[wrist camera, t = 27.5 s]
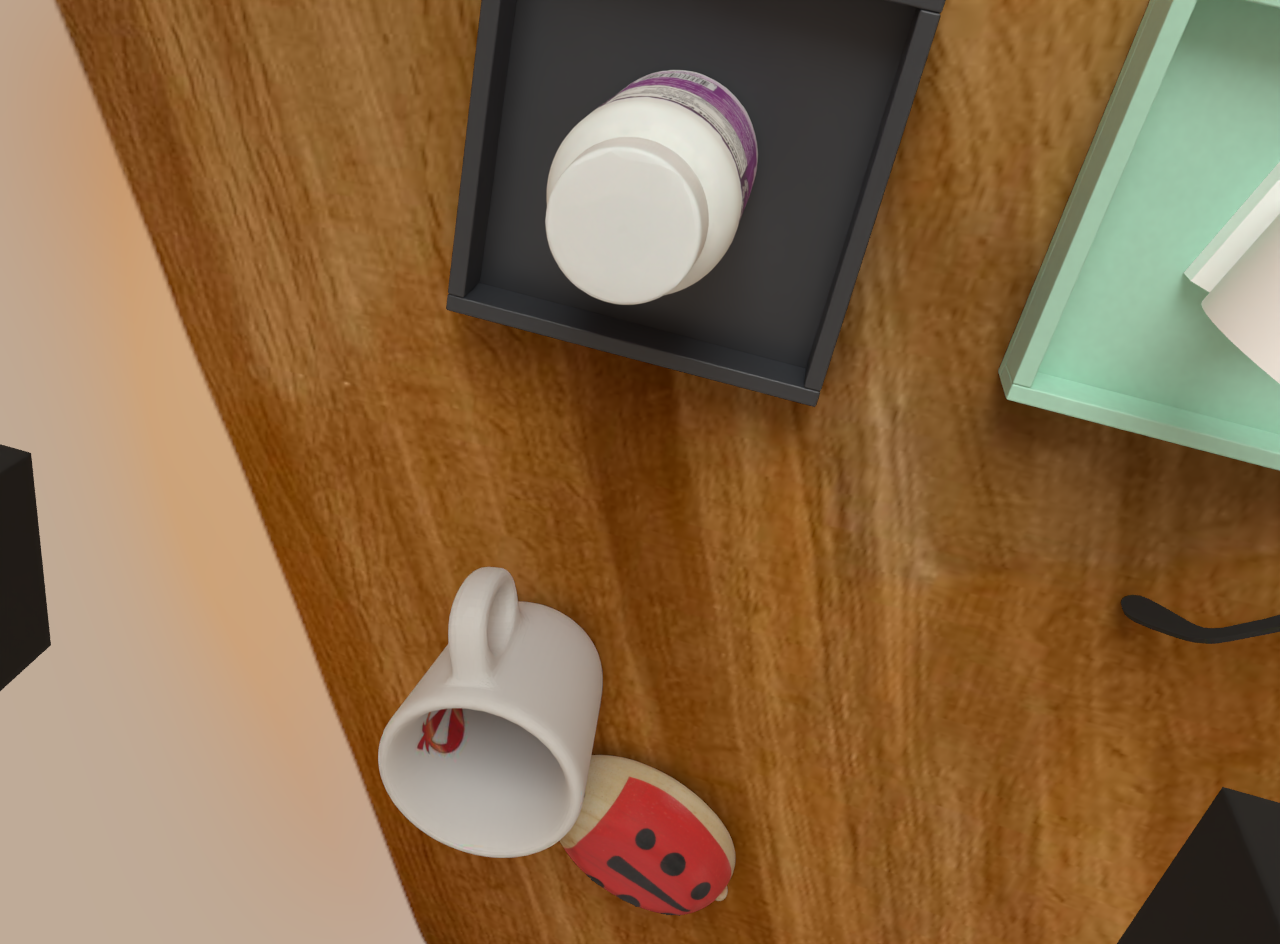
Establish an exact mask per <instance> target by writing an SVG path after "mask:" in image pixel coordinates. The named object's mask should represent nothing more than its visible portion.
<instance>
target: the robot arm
mask: <svg viewBox="0 0 1280 944" xmlns="http://www.w3.org/2000/svg"><path fill="white" fill-rule="evenodd" d="M50 645H51V642H50V632H49V623H48V613H47V603H46V594H45V584H44V574H43V565H42V556H41V546H40V536H39V526H38V516H37V508H36V498H35V488H34V478H33V468H32V459H31V453H29V452H25V451H22V450H18V449H15V448H11V447H8V446H4V445H0V691H1V690H2V689H3V688H4V687H5V686H6V685H7V684H9V683H10V682H11V681H12V680H13V679H14V678H15V677H16V676H17V675H18V674H20V672H22V670H24V669H25V668H26V667H27V666H28V665H29V664H30V663H32V662H33V661H34V660H35V659H36V658H37V657H38V656H39V655H40V654H42V652H44V651H45V650H46V649H47V648H48V647H49V646H50ZM1117 944H1280V803H1278V802H1274V801H1271V800H1267V799H1264V798H1260V797H1256V796H1253V795H1249V794H1246V793H1242V792H1239V791H1235V790H1231V789H1228V788H1224V787H1222V789H1221V790H1220V792H1219V793H1218V795H1217V796H1216V798H1215V799H1214V801H1213V802H1212V804H1211V805H1210V807H1209V808H1208V810H1207V811H1206V813H1205V814H1204V816H1203V817H1202V819H1201V820H1200V821H1199V823H1198V824H1197V826H1196V827H1195V829H1194V830H1193V832H1192V833H1191V835H1190V836H1189V838H1188V839H1187V841H1186V842H1185V844H1184V845H1183V847H1182V848H1181V850H1180V851H1179V853H1178V854H1177V856H1176V857H1175V858H1174V860H1173V861H1172V863H1171V864H1170V866H1169V867H1168V869H1167V870H1166V872H1165V873H1164V875H1163V876H1162V878H1161V879H1160V881H1159V882H1158V884H1157V885H1156V887H1155V888H1154V890H1153V891H1152V893H1151V894H1150V896H1149V897H1148V898H1147V900H1146V901H1145V903H1144V904H1143V906H1142V907H1141V909H1140V910H1139V912H1138V913H1137V915H1136V916H1135V918H1134V919H1133V921H1132V922H1131V924H1130V925H1129V927H1128V928H1127V930H1126V931H1125V933H1124V934H1123V936H1122V937H1121V938H1120V940H1119V941H1118V943H1117Z"/></svg>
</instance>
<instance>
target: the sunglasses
mask: <svg viewBox="0 0 1280 944" xmlns="http://www.w3.org/2000/svg"><path fill="white" fill-rule="evenodd" d="M1121 605H1122V609H1123V612H1124V614H1125V615H1126V616H1127V617H1128V618H1129V619H1131V620H1133V621H1134V622H1136V623H1138V624H1141V625H1143V626H1145V627H1148V628H1150V629H1153V630H1156V631H1158V632H1161V633H1164V634H1167V635H1170V636H1173V637H1176V638H1179V639H1182V640H1186V641H1190V642H1195V643H1206V644H1213V643H1222V642H1229V641H1234V640H1239V639H1244V638H1250V637H1255V636H1260V635H1265V634H1270V633H1275V632H1280V615H1277V616H1273V617H1270V618H1266V619H1262V620H1257V621H1253V622H1248V623H1243V624H1238V625H1233V626H1229V627H1224V628H1203V627H1200V626H1197V625H1195V624H1193V623H1191V622H1189V621H1187V620H1185V619H1184V618H1182V617H1180V616H1178V615H1177V614H1175V613H1173V612H1172V611H1170V610H1168V609H1166V608H1165V607H1163V606H1161V605H1159V604H1157V603H1155V602H1153V601H1152V600H1150V599H1147V598H1145V597H1142V596H1139V595H1129V596H1126V597H1124V598H1123V599H1122V600H1121Z"/></svg>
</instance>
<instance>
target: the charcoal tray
mask: <svg viewBox="0 0 1280 944" xmlns="http://www.w3.org/2000/svg"><path fill="white" fill-rule="evenodd" d="M945 1H946V0H482V2H481V11H480V19H479V28H478V37H477V45H476V54H475V63H474V71H473V80H472V89H471V97H470V106H469V115H468V123H467V132H466V141H465V149H464V158H463V167H462V175H461V184H460V193H459V201H458V210H457V219H456V227H455V236H454V245H453V253H452V262H451V271H450V279H449V288H448V293H449V294H448V297H447V306H446V309H447V310H450V311H453V312H457V313H461V314H465V315H469V316H472V317H476V318H480V319H484V320H488V321H491V322H495V323H499V324H503V325H506V326H510V327H514V328H518V329H522V330H525V331H529V332H533V333H537V334H540V335H544V336H548V337H552V338H556V339H559V340H563V341H567V342H571V343H575V344H578V345H582V346H586V347H590V348H593V349H597V350H601V351H605V352H609V353H612V354H616V355H620V356H624V357H628V358H631V359H635V360H639V361H643V362H646V363H650V364H654V365H658V366H662V367H665V368H669V369H673V370H677V371H681V372H684V373H688V374H692V375H696V376H699V377H703V378H707V379H711V380H715V381H718V382H722V383H726V384H730V385H734V386H737V387H741V388H745V389H749V390H752V391H756V392H760V393H764V394H768V395H771V396H775V397H779V398H783V399H787V400H790V401H794V402H798V403H802V404H805V405H809V406H813V407H815V406H816V404H817V401H818V398H819V395H820V390H821V389H822V386H823V382H824V379H825V376H826V373H827V370H828V367H829V364H830V361H831V357H832V354H833V351H834V348H835V345H836V342H837V339H838V335H839V332H840V329H841V326H842V323H843V320H844V317H845V314H846V310H847V307H848V304H849V301H850V298H851V295H852V292H853V289H854V285H855V282H856V279H857V276H858V273H859V270H860V267H861V263H862V260H863V257H864V254H865V251H866V248H867V245H868V242H869V238H870V235H871V232H872V229H873V226H874V223H875V220H876V217H877V213H878V210H879V207H880V204H881V201H882V198H883V195H884V191H885V188H886V185H887V182H888V179H889V176H890V173H891V170H892V166H893V163H894V160H895V157H896V154H897V151H898V148H899V145H900V141H901V138H902V135H903V132H904V129H905V126H906V123H907V119H908V116H909V113H910V110H911V107H912V104H913V101H914V98H915V94H916V91H917V88H918V85H919V82H920V79H921V76H922V73H923V69H924V66H925V63H926V60H927V57H928V54H929V51H930V47H931V44H932V41H933V38H934V35H935V32H936V29H937V26H938V22H939V19H940V13H941V12H942V10H943V7H944V4H945ZM668 70H686V71H692V72H696V73H700V74H702V75H705V76H707V77H709V78H711V79H713V80H715V81H717V82H718V83H720V84H721V85H723V86H724V87H726V88H727V89H728V90H729V91H730V92H731V93H732V94H733V95H734V96H735V97H736V98H737V99H738V100H739V102H740V103H741V104H742V106H743V107H744V109H745V110H746V112H747V114H748V116H749V118H750V120H751V122H752V125H753V129H754V132H755V136H756V141H757V148H758V161H757V171H756V176H755V179H754V183H753V186H752V190H751V193H750V196H749V198H748V201H747V204H746V206H745V209H744V212H743V214H742V217H741V219H740V222H739V225H738V228H737V231H736V234H735V237H734V239H733V241H732V243H731V245H730V247H729V249H728V250H727V252H726V253H725V254H724V256H723V257H722V259H721V260H720V261H719V262H718V264H717V265H716V266H715V267H714V268H713V269H712V270H711V271H710V272H709V273H708V274H707V275H705V276H704V277H703V278H702V279H700V280H699V281H697V282H696V283H694V284H693V285H691V286H689V287H687V288H685V289H682V290H680V291H677V292H675V293H672V294H667V295H663V296H662V297H660V298H657V299H655V300H652V301H649V302H646V303H641V304H635V305H620V304H613V303H609V302H605V301H602V300H599V299H597V298H594V297H592V296H590V295H588V294H587V293H585V292H584V291H582V290H581V289H579V288H578V287H576V286H575V285H574V284H573V283H572V282H571V281H570V280H569V279H568V278H567V277H566V276H565V274H564V273H563V272H562V271H561V269H560V268H559V266H558V264H557V263H556V261H555V259H554V257H553V255H552V252H551V250H550V247H549V243H548V240H547V234H546V224H545V219H546V209H547V200H546V199H547V182H548V176H549V172H550V168H551V165H552V162H553V159H554V157H555V155H556V152H557V150H558V148H559V147H560V145H561V143H562V142H563V140H564V139H565V138H566V136H567V135H568V134H569V133H570V131H571V130H572V129H573V128H574V127H575V126H576V125H577V124H578V123H579V122H580V121H581V120H583V119H584V118H585V117H586V116H588V115H589V114H590V113H592V112H593V111H594V110H595V109H597V108H598V107H599V106H601V105H602V104H604V103H605V102H606V101H608V100H609V99H611V98H613V97H614V96H615V95H617V94H618V93H619V92H620V91H622V90H623V89H624V88H626V87H627V86H628V85H629V84H631V83H632V82H634V81H636V80H638V79H640V78H642V77H644V76H646V75H649V74H652V73H655V72H660V71H668Z"/></svg>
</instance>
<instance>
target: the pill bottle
mask: <svg viewBox="0 0 1280 944" xmlns="http://www.w3.org/2000/svg"><path fill="white" fill-rule="evenodd" d="M757 161H758V148H757V141H756V136H755V132H754V129H753V125H752V122H751V120H750V118H749V116H748V114H747V112H746V110H745V109H744V107H743V106H742V104H741V103H740V102H739V100H738V99H737V98H736V97H735V96H734V95H733V94H732V93H731V92H730V91H729V90H728V89H727V88H726V87H724V86H723V85H721V84H720V83H718V82H717V81H715V80H713V79H711V78H709V77H707V76H705V75H702V74H700V73H696V72H692V71H686V70H668V71H660V72H655V73H652V74H649V75H646V76H644V77H642V78H640V79H638V80H636V81H634V82H632V83H631V84H629V85H628V86H627V87H626V88H624V89H623V90H622V91H620V92H619V93H618V94H617V95H615V96H614V97H613V98H611V99H609V100H608V101H606V102H605V103H604V104H602V105H601V106H599V107H598V108H597V109H595V110H594V111H593V112H592V113H590V114H589V115H588V116H586V117H585V118H584V119H583V120H581V121H580V122H579V123H578V124H577V125H576V126H575V127H574V128H573V129H572V130H571V131H570V133H569V134H568V135H567V136H566V138H565V139H564V140H563V142H562V143H561V145H560V147H559V148H558V150H557V152H556V155H555V157H554V159H553V162H552V165H551V168H550V172H549V176H548V182H547V199H546V200H547V209H546V219H545V224H546V234H547V240H548V243H549V247H550V250H551V252H552V255H553V257H554V259H555V261H556V263H557V264H558V266H559V268H560V269H561V271H562V272H563V273H564V274H565V276H566V277H567V278H568V279H569V280H570V281H571V282H572V283H573V284H574V285H575V286H576V287H578V288H579V289H581V290H582V291H584V292H585V293H587V294H588V295H590V296H592V297H594V298H597V299H599V300H602V301H605V302H609V303H613V304H620V305H635V304H641V303H646V302H649V301H652V300H655V299H657V298H660V297H662V296H663V295H667V294H672V293H675V292H677V291H680V290H682V289H685V288H687V287H689V286H691V285H693V284H694V283H696V282H697V281H699V280H700V279H702V278H703V277H704V276H705V275H707V274H708V273H709V272H710V271H711V270H712V269H713V268H714V267H715V266H716V265H717V264H718V262H719V261H720V260H721V259H722V257H723V256H724V254H725V253H726V252H727V250H728V249H729V247H730V245H731V243H732V241H733V239H734V237H735V234H736V231H737V228H738V225H739V222H740V219H741V217H742V214H743V212H744V209H745V206H746V204H747V201H748V198H749V196H750V193H751V190H752V186H753V183H754V179H755V176H756V171H757Z"/></svg>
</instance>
